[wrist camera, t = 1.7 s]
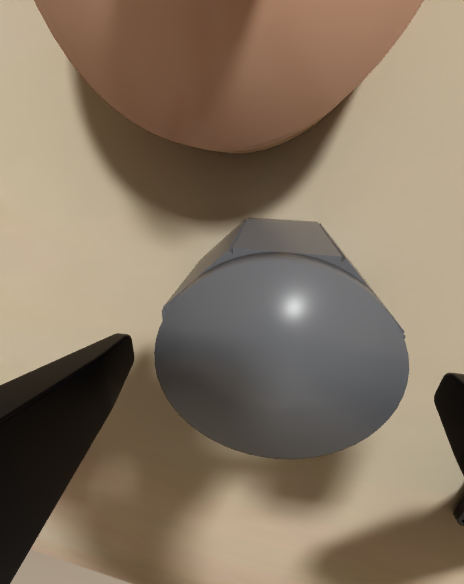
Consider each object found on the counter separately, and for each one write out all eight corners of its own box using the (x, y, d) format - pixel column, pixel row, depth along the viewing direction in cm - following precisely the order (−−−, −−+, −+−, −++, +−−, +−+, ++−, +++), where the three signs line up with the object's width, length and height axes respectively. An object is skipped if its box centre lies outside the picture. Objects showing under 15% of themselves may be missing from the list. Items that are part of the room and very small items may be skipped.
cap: (336, 365, 13) (369, 474, 8) (201, 349, 13) (164, 440, 9) (372, 225, 10) (454, 276, 5) (198, 214, 11) (141, 251, 6)
